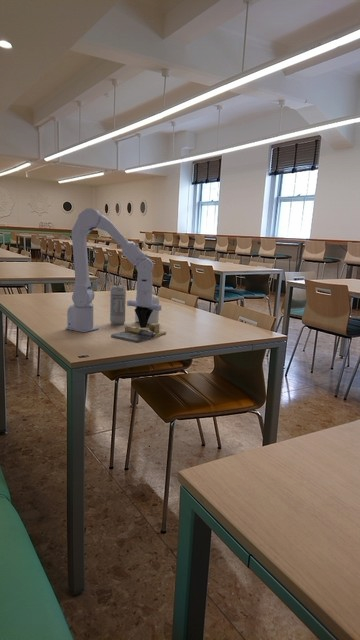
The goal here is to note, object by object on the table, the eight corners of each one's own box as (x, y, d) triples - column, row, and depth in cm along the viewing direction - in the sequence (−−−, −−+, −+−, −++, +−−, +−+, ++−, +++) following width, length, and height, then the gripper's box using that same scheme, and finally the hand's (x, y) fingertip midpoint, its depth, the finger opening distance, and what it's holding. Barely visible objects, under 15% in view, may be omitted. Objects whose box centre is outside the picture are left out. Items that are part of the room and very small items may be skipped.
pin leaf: (111, 336, 146) (111, 330, 145) (128, 332, 154) (128, 325, 154) (140, 343, 139) (140, 336, 139) (157, 338, 147) (157, 331, 147)
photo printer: (159, 324, 171) (161, 294, 168) (154, 325, 167) (155, 295, 165) (139, 320, 176) (140, 291, 173) (133, 322, 172) (134, 292, 170)
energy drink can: (126, 322, 171) (127, 286, 168) (123, 325, 165) (123, 288, 162) (112, 321, 171) (112, 285, 168) (108, 324, 165) (108, 287, 162)
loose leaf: (124, 332, 152) (124, 322, 151) (140, 328, 160) (140, 319, 159) (150, 338, 146) (151, 328, 145) (166, 333, 154) (166, 323, 153)
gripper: (166, 292, 152) (165, 328, 154) (135, 288, 159) (134, 322, 162) (155, 294, 146) (154, 331, 148) (123, 289, 153) (123, 325, 156)
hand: (143, 327), depth 155 cm, fingers closed
